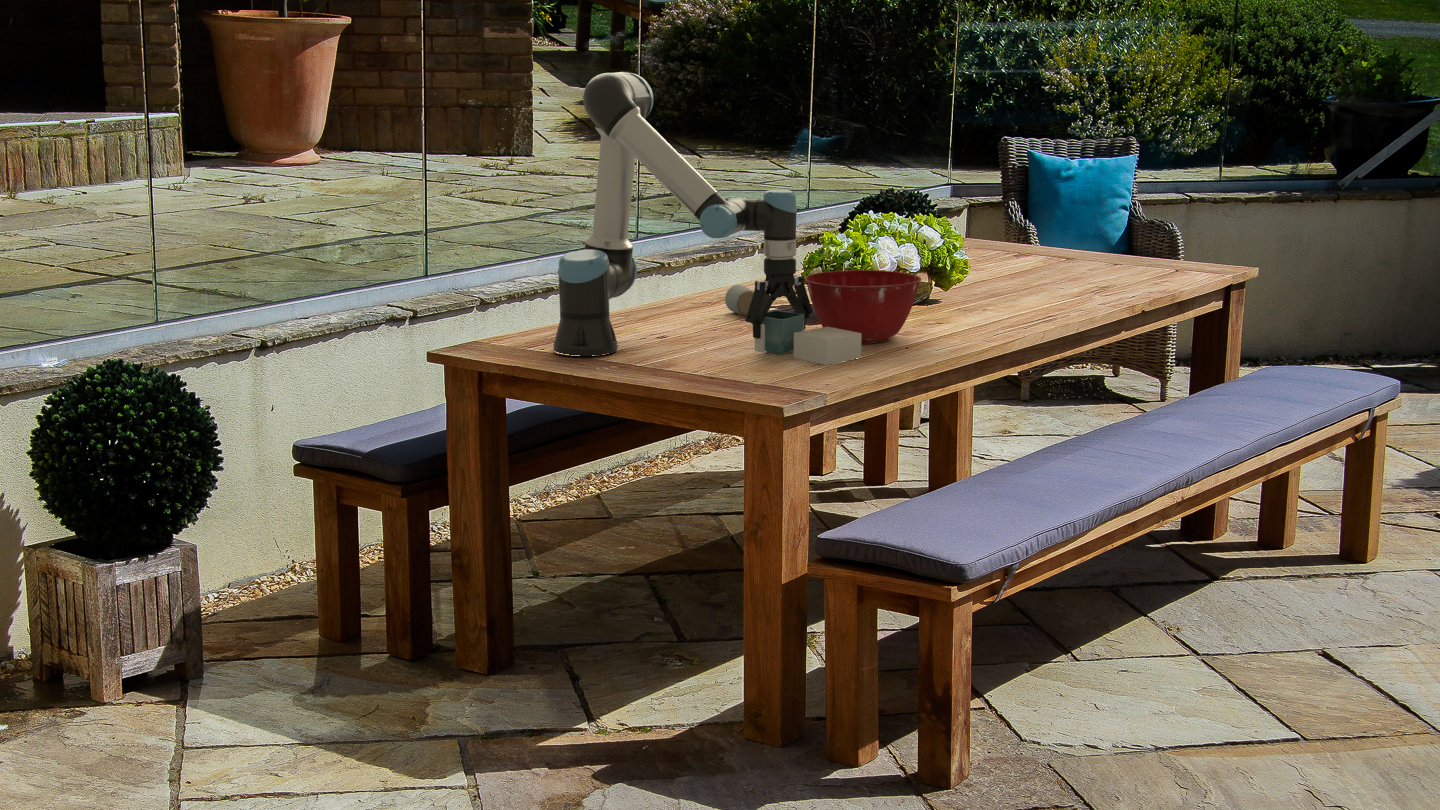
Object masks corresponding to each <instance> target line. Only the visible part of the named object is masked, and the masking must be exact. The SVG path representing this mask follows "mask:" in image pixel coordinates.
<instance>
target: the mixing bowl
mask: <svg viewBox="0 0 1440 810" xmlns="http://www.w3.org/2000/svg"><path fill="white" fill-rule="evenodd" d="M921 281H922V277H921V276H918V275H917V274H912V273H908V272H902V271H901V272H899V271H891V270H873V269H872V270H871V269H865V270H864V269H849V270H848V269H847V270H846V269H845V270H832V271H831V270H830V271H821V272H816V273H812V274H809V275H807V276H805V277H804V282H806V285H807V286H806V287H807V291H808V294H809V295H808V296H809V297H810V298H809V299H810V301H811V302H810V303H811V305H812V308H813V309H814V312H815V314H816V316H817V319H818V321H819V323H820V324H821V326H822V327H821V328H823V327H832V328H837V329H842V330H848V331H853V332H858V333H862V334H861V344H875V343H874V342H879V343H882V342H881V341H884V342H887V341H889V340H890V339H892V338H893V337H894V336H896V335H897V334H898V333H899V332H900V331H901V329H902V328H903V326H904V324H905V323H906V320H907V319H908V317H909V316H910V315H909V314H910V312H911V310H912V307H913V306H914V303H915V300H916V296H917V293H918V290H919V287H920V283H921ZM888 339H889V340H888ZM886 340H887V341H886Z"/></svg>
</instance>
